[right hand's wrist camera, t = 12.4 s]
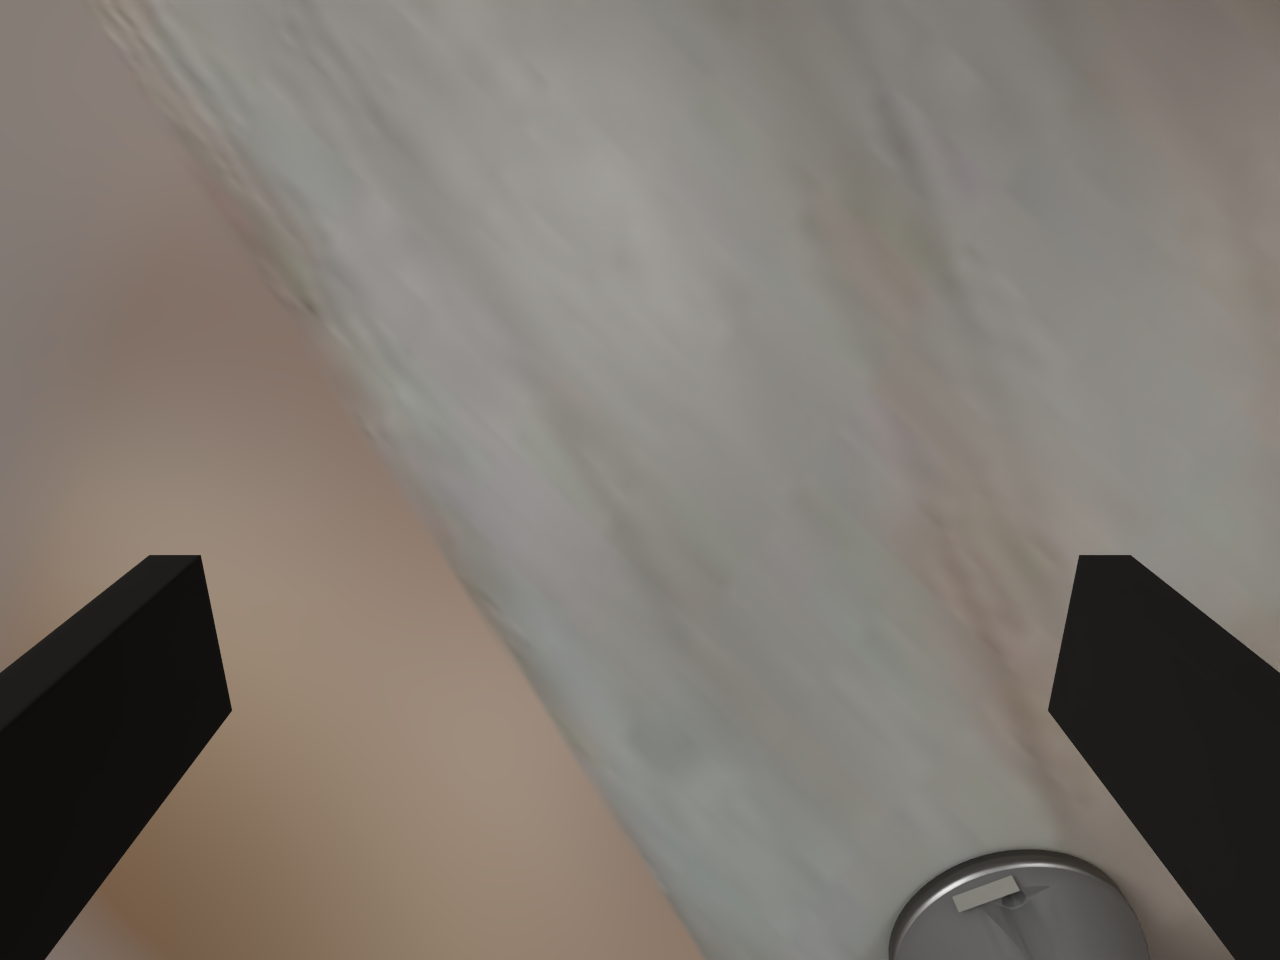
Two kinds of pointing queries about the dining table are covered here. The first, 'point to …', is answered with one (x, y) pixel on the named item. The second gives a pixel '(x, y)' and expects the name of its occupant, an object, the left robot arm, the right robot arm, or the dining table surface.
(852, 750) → the dining table surface
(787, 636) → the dining table surface
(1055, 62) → the dining table surface
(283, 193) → the dining table surface
